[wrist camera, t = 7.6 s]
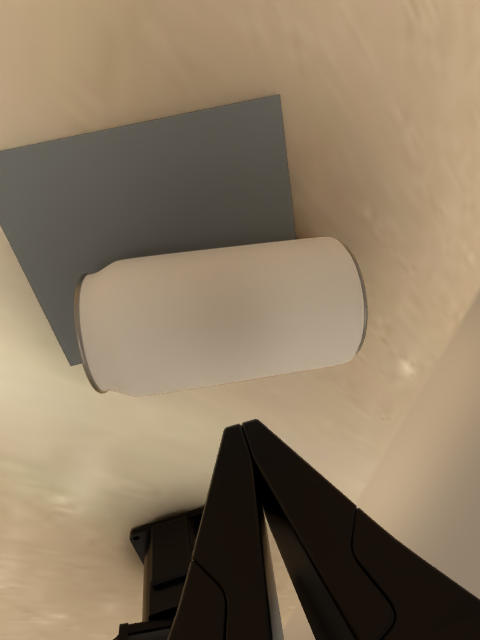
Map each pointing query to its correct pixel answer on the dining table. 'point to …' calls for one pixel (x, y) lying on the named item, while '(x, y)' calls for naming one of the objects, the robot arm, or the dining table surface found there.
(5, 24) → the dining table surface
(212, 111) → the mat
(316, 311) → the can
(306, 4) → the dining table surface
